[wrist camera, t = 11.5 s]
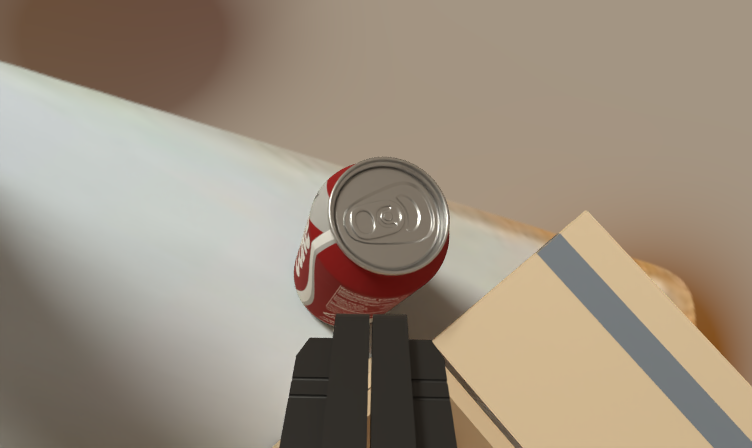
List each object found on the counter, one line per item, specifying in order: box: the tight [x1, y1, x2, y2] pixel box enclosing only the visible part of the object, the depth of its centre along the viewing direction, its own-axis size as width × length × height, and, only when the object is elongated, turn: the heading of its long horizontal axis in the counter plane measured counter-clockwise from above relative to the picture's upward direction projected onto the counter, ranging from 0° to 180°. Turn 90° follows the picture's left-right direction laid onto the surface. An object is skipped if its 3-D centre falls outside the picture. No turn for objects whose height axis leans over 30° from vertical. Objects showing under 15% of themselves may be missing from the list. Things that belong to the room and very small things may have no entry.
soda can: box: [294, 157, 450, 326], centre depth 29 cm, size 7×7×12 cm
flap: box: [432, 211, 752, 448], centre depth 24 cm, size 16×1×10 cm
